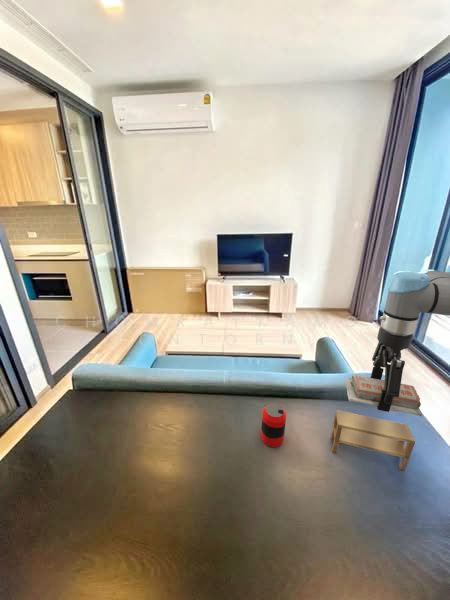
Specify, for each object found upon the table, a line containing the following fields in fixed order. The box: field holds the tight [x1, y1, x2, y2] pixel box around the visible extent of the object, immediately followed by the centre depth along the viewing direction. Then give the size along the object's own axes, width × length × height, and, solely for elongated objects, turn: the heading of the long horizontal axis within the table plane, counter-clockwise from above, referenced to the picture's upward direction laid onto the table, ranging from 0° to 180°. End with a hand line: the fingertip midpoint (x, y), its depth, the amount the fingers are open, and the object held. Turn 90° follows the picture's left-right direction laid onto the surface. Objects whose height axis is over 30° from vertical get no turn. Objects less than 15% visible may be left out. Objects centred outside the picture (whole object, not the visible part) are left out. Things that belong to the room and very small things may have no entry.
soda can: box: [260, 403, 287, 448], centre depth 82 cm, size 8×8×12 cm
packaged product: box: [345, 374, 423, 417], centre depth 73 cm, size 18×5×10 cm
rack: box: [330, 409, 416, 472], centre depth 77 cm, size 20×6×12 cm, turn 73°
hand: (378, 396), depth 74 cm, fingers closed on packaged product, 10 cm apart
